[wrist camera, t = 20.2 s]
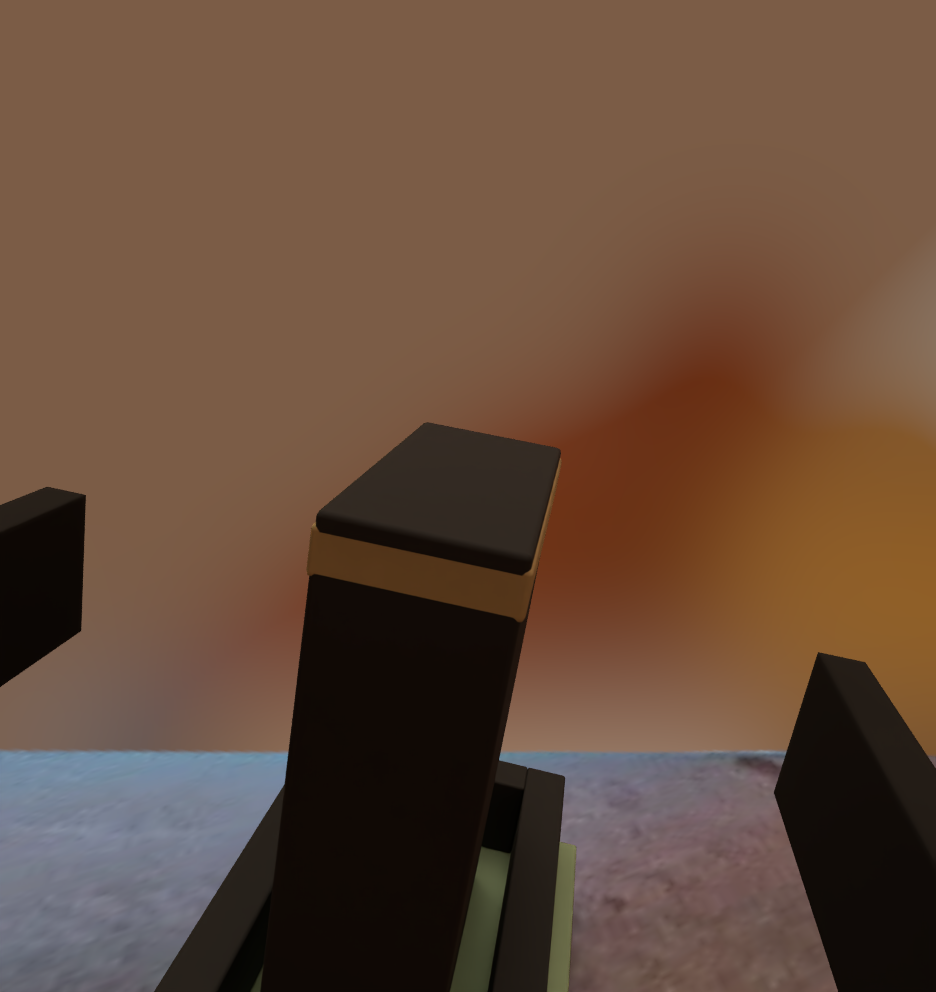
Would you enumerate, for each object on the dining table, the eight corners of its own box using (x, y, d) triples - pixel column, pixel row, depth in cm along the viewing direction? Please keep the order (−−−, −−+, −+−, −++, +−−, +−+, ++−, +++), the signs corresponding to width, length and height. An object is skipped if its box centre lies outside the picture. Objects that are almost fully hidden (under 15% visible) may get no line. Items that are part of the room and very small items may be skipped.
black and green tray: (529, 1419, 12) (577, 1256, 11) (32, 1256, 13) (35, 1091, 12) (565, 890, 23) (592, 782, 22) (287, 819, 24) (300, 711, 23)
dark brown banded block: (415, 1162, 14) (537, 557, 11) (241, 1109, 14) (311, 510, 11) (477, 874, 21) (564, 448, 18) (357, 843, 21) (421, 420, 18)
